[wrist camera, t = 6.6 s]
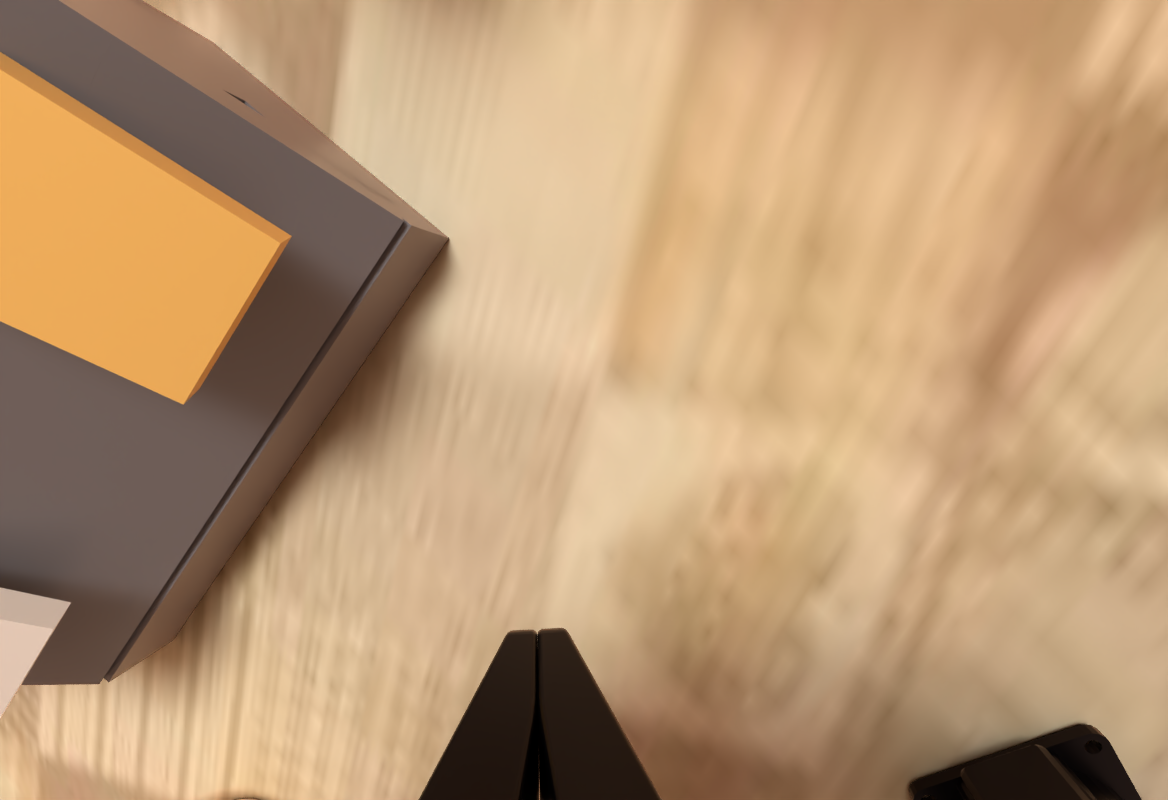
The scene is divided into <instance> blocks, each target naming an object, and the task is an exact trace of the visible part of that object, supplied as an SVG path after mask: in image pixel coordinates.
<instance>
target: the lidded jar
mask: <svg viewBox="0 0 1168 800" xmlns="http://www.w3.org/2000/svg"><path fill="white" fill-rule="evenodd" d="M236 800H259V799H254V798H242V799H236Z"/></svg>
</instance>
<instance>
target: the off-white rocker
mask: <svg viewBox="0 0 1168 800" xmlns="http://www.w3.org/2000/svg"><path fill="white" fill-rule="evenodd" d="M70 604H71V602H67V601H62V600H57V599H52V598H48V597H43V596H38V595H33V594H29V593H24V592H19V591H15V590H10V589H5V588H0V718H1V717H2V715H3V713H4V712H5V710H6V709H7V707H8V706H9V704H10V703H11V701H12V699H13V698H14V696H15V694H16V693H17V691H18V689H19V688H20V686H21V684H22V683H23V681H24V679H25V678H26V676H27V674H28V673H29V671H30V670H31V668H32V666H33V665H34V663H35V661H36V660H37V658H38V656H39V655H40V653H41V651H42V650H43V648H44V646H45V645H46V643H47V641H48V640H49V638H50V637H51V635H52V633H53V632H54V630H55V628H56V627H57V625H58V623H59V622H60V620H61V618H62V617H63V615H64V613H65V612H66V610H67V608H68V607H69V605H70Z"/></svg>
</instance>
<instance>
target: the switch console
mask: <svg viewBox="0 0 1168 800" xmlns="http://www.w3.org/2000/svg"><path fill="white" fill-rule="evenodd" d="M0 52H1V53H3V54H4V55H6V56H8V57H9V58H11V59H12V60H14V61H16V62H17V63H19V64H20V65H22V66H23V67H25V68H27V69H28V70H30V71H31V72H33V73H35V74H36V75H38V76H39V77H41V78H42V79H44V80H46V81H47V82H49V83H50V84H52V85H54V86H55V87H57V88H58V89H60V90H61V91H63V92H65V93H66V94H68V95H69V96H71V97H72V98H74V99H76V100H77V101H79V102H80V103H82V104H84V105H85V106H87V107H88V108H90V109H91V110H93V111H95V112H96V113H98V114H99V115H101V116H103V117H104V118H106V119H107V120H109V121H110V122H112V123H114V124H115V125H117V126H118V127H120V128H122V129H123V130H125V131H126V132H128V133H129V134H131V135H133V136H134V137H136V138H137V139H139V140H141V141H142V142H144V143H145V144H147V145H148V146H150V147H152V148H153V149H155V150H156V151H158V152H159V153H161V154H163V155H164V156H166V157H167V158H169V159H171V160H172V161H174V162H175V163H177V164H178V165H180V166H182V167H183V168H185V169H186V170H188V171H190V172H191V173H193V174H194V175H196V176H197V177H199V178H201V179H202V180H204V181H205V182H207V183H209V184H210V185H212V186H213V187H215V188H216V189H218V190H220V191H221V192H223V193H224V194H226V195H228V196H229V197H231V198H232V199H234V200H235V201H237V202H239V203H240V204H242V205H243V206H245V207H246V208H248V209H250V210H251V211H253V212H254V213H256V214H258V215H259V216H261V217H262V218H264V219H265V220H267V221H269V222H270V223H272V224H273V225H275V226H277V227H278V228H280V229H281V230H283V231H284V232H286V233H288V234H289V235H291V236H292V237H291V238H290V240H289V242H288V243H287V245H286V247H285V248H284V250H283V252H282V253H281V255H280V257H279V258H278V260H277V262H276V263H275V265H274V267H273V268H272V270H271V272H270V273H269V275H268V276H267V278H266V280H265V281H264V283H263V285H262V286H261V288H260V290H259V291H258V293H257V295H256V296H255V298H254V300H253V301H252V303H251V305H250V306H249V308H248V310H247V311H246V313H245V314H244V316H243V318H242V319H241V321H240V323H239V324H238V326H237V328H236V329H235V331H234V333H233V334H232V336H231V338H230V339H229V341H228V343H227V344H226V346H225V347H224V349H223V351H222V352H221V354H220V356H219V357H218V359H217V361H216V362H215V364H214V366H213V367H212V369H211V371H210V372H209V374H208V376H207V377H206V379H205V381H204V382H203V384H202V385H201V387H200V389H199V390H198V391H197V392H196V393H195V394H194V395H193V396H192V397H191V398H190V399H189V400H188V401H187V402H186V403H185V404H184V405H183V404H181V403H179V402H176V401H174V400H172V399H170V398H168V397H165V396H163V395H161V394H159V393H157V392H154V391H152V390H150V389H148V388H146V387H144V386H141V385H139V384H137V383H135V382H133V381H130V380H128V379H126V378H124V377H122V376H119V375H117V374H115V373H113V372H111V371H108V370H106V369H104V368H102V367H100V366H97V365H95V364H93V363H91V362H89V361H86V360H84V359H82V358H80V357H78V356H76V355H73V354H71V353H69V352H67V351H65V350H62V349H60V348H58V347H56V346H54V345H51V344H49V343H47V342H45V341H43V340H40V339H38V338H36V337H34V336H32V335H29V334H27V333H25V332H23V331H21V330H19V329H16V328H14V327H12V326H10V325H8V324H5V323H3V322H1V321H0V588H5V589H10V590H15V591H19V592H24V593H29V594H33V595H38V596H43V597H48V598H52V599H57V600H62V601H67V602H71V604H70V605H69V607H68V608H67V610H66V612H65V613H64V615H63V617H62V618H61V620H60V622H59V623H58V625H57V627H56V628H55V630H54V632H53V633H52V635H51V637H50V638H49V640H48V641H47V643H46V645H45V646H44V648H43V650H42V651H41V653H40V655H39V656H38V658H37V660H36V661H35V663H34V665H33V666H32V668H31V670H30V671H29V673H28V674H27V676H26V678H25V679H24V681H23V683H22V684H21V685H58V684H100V682H101V681H102V679H103V678H104V679H106V680H107V681H108V682H110V681H111V680H113V679H115V678H116V677H118V676H119V675H121V674H122V673H124V672H125V671H127V670H128V669H130V668H131V667H133V666H134V665H136V664H137V663H139V662H141V661H142V660H144V659H145V658H147V657H148V656H150V655H151V654H153V653H154V652H156V651H157V650H159V649H160V648H162V647H163V646H165V645H167V644H168V643H170V642H171V641H173V639H174V638H175V636H176V635H177V634H178V632H179V631H180V629H181V628H182V626H183V625H184V623H185V622H186V620H187V619H188V618H189V616H190V615H191V613H192V612H193V610H194V609H195V607H196V606H197V604H198V603H199V601H200V600H201V599H202V597H203V596H204V594H205V593H206V591H207V590H208V588H209V587H210V585H211V584H212V583H213V581H214V580H215V578H216V577H217V575H218V574H219V572H220V571H221V569H222V568H223V567H224V565H225V564H226V562H227V561H228V559H229V558H230V556H231V555H232V553H233V552H234V551H235V549H236V548H237V546H238V545H239V543H240V542H241V540H242V539H243V537H244V536H245V534H246V533H247V532H248V530H249V529H250V527H251V526H252V524H253V523H254V521H255V520H256V518H257V517H258V516H259V514H260V513H261V511H262V510H263V508H264V507H265V505H266V504H267V502H268V501H269V500H270V498H271V497H272V495H273V494H274V492H275V491H276V489H277V488H278V486H279V485H280V483H281V482H282V481H283V479H284V478H285V476H286V475H287V473H288V472H289V470H290V469H291V467H292V466H293V465H294V463H295V462H296V460H297V459H298V457H299V456H300V454H301V453H302V451H303V450H304V449H305V447H306V446H307V444H308V443H309V441H310V440H311V438H312V437H313V435H314V434H315V432H316V431H317V430H318V428H319V427H320V425H321V424H322V422H323V421H324V419H325V418H326V416H327V415H328V414H329V412H330V411H331V409H332V408H333V406H334V405H335V403H336V402H337V400H338V399H339V398H340V396H341V395H342V393H343V392H344V390H345V389H346V387H347V386H348V384H349V383H350V381H351V380H352V379H353V377H354V376H355V374H356V373H357V371H358V370H359V368H360V367H361V365H362V364H363V363H364V361H365V360H366V358H367V357H368V355H369V354H370V352H371V351H372V349H373V348H374V347H375V345H376V344H377V342H378V341H379V339H380V338H381V336H382V335H383V333H384V332H385V330H386V329H387V328H388V326H389V325H390V323H391V322H392V320H393V319H394V317H395V316H396V314H397V313H398V312H399V310H400V309H401V307H402V306H403V304H404V303H405V301H406V300H407V298H408V297H409V296H410V294H411V293H412V291H413V290H414V288H415V287H416V285H417V284H418V282H419V281H420V280H421V278H422V277H423V275H424V274H425V272H426V271H427V269H428V268H429V266H430V265H431V263H432V262H433V261H434V259H435V258H436V256H437V255H438V253H439V252H440V250H441V249H442V247H443V246H444V245H445V243H446V242H447V240H448V239H449V238H448V237H447V236H446V235H445V234H443V233H442V232H441V231H440V230H439V229H437V228H436V227H435V226H434V225H432V224H431V223H430V222H429V221H428V220H426V219H425V218H424V217H423V216H422V215H420V214H419V213H418V212H417V211H416V210H414V209H413V208H412V207H411V206H410V205H408V204H407V203H406V202H405V201H404V200H402V199H401V198H400V197H399V196H398V195H396V194H395V193H394V192H393V191H392V190H390V189H389V188H388V187H387V186H385V185H384V184H383V183H382V182H381V181H379V180H378V179H377V178H376V177H375V176H373V175H372V174H371V173H370V172H369V171H367V170H366V169H365V168H364V167H363V166H361V165H360V164H359V163H358V162H357V161H355V160H354V159H353V158H352V157H351V156H349V155H348V154H347V153H346V152H345V151H343V150H342V149H341V148H340V147H339V146H337V145H336V144H335V143H334V142H332V141H331V140H330V139H329V138H328V137H326V136H325V135H324V134H323V133H322V132H320V131H319V130H318V129H317V128H316V127H314V126H313V125H312V124H311V123H310V122H308V121H307V120H306V119H305V118H304V117H302V116H301V115H300V114H299V113H298V112H296V111H295V110H294V109H293V108H292V107H290V106H289V105H288V104H287V103H285V102H284V101H283V100H282V99H281V98H279V97H278V96H277V95H276V94H275V93H273V92H272V91H271V90H270V89H269V88H267V87H266V86H265V85H264V84H263V83H261V82H260V81H259V80H258V79H257V78H255V77H254V76H253V75H252V74H251V73H249V72H248V71H247V70H246V69H245V68H243V67H242V66H241V65H240V64H239V63H237V62H236V61H235V60H234V59H232V58H231V57H230V56H229V55H228V54H226V53H225V52H224V51H223V50H222V49H220V48H219V47H218V46H217V45H216V44H214V43H213V42H212V41H210V40H208V39H207V38H205V37H203V36H202V35H200V34H198V33H196V32H195V31H193V30H191V29H190V28H188V27H186V26H185V25H183V24H181V23H179V22H178V21H176V20H174V19H173V18H171V17H169V16H168V15H166V14H164V13H163V12H161V11H159V10H157V9H156V8H154V7H152V6H151V5H149V4H147V3H146V2H144V1H142V0H0Z"/></svg>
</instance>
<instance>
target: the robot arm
mask: <svg viewBox="0 0 1168 800" xmlns="http://www.w3.org/2000/svg"><path fill="white" fill-rule="evenodd" d="M1090 740H1092V742H1090V743H1089V744H1086V743H1087V742H1088V741H1090ZM539 780H540V800H662V799H661V798H660V796H659V794H658V792H657V790H656V789H655V787H654V785H653V783H652V781H651V780H650V778H649V776H648V774H647V772H646V771H645V769H644V767H643V765H642V764H641V762H640V760H639V758H638V756H637V755H636V753H635V751H634V749H633V747H632V746H631V744H630V742H629V740H628V738H627V737H626V735H625V733H624V731H623V730H622V728H621V726H620V724H619V722H618V721H617V719H616V717H615V715H614V713H613V712H612V710H611V708H610V706H609V704H608V703H607V701H606V699H605V697H604V696H603V694H602V692H601V690H600V688H599V687H598V685H597V683H596V681H595V679H594V678H593V676H592V674H591V672H590V670H589V669H588V667H587V665H586V663H585V661H584V660H583V658H582V656H581V654H580V653H579V651H578V649H577V647H576V645H575V644H574V642H573V640H572V638H571V636H570V635H569V633H568V632H567V630H566V629H564V628H552V629H541V630H539V632H538V635H537V633H536V631H534V630H514V631H510V632H508V634H507V635H506V636H505V638H504V640H503V642H502V644H501V646H500V647H499V649H498V651H497V653H496V655H495V657H494V659H493V661H492V663H491V664H490V666H489V668H488V670H487V672H486V674H485V676H484V678H483V679H482V681H481V683H480V685H479V687H478V689H477V691H476V693H475V695H474V696H473V698H472V700H471V702H470V704H469V706H468V708H467V710H466V711H465V713H464V715H463V717H462V719H461V721H460V723H459V725H458V727H457V728H456V730H455V732H454V734H453V736H452V738H451V740H450V742H449V744H448V745H447V747H446V749H445V751H444V753H443V755H442V757H441V759H440V760H439V762H438V764H437V766H436V768H435V770H434V772H433V774H432V776H431V777H430V779H429V781H428V783H427V785H426V787H425V789H424V791H423V792H422V794H421V796H420V798H419V800H539ZM909 794H910V796H911V799H912V800H1141V798H1140V796H1139V794H1138V792H1137V791H1136V789H1135V787H1134V785H1133V783H1132V782H1131V780H1130V778H1129V776H1128V774H1127V773H1126V771H1125V769H1124V767H1123V765H1122V764H1121V762H1120V760H1119V758H1118V756H1117V755H1116V753H1115V751H1114V749H1113V747H1112V746H1111V744H1110V742H1109V741H1108V740H1107V738H1106V737H1105V736H1104V735H1103V734H1102V733H1101V732H1100V731H1099V730H1098V729H1096V728H1095V727H1093V726H1091V725H1085V724H1083V725H1077V726H1074V727H1071V728H1068V729H1065V730H1062V731H1060V732H1057V733H1054V734H1051V735H1048V736H1045V737H1042V738H1039V739H1036V740H1033V741H1030V742H1027V743H1024V744H1021V745H1018V746H1015V747H1012V748H1009V749H1006V750H1003V751H1001V752H998V753H995V754H992V755H989V756H986V757H983V758H980V759H977V760H974V761H971V762H968V763H965V764H962V765H959V766H956V767H953V768H950V769H947V770H944V771H942V772H939V773H936V774H933V775H930V776H927V777H924V778H921V779H918V780H916V781H914V782H912V784H911V785H910V786H909ZM925 795H930V796H928V797H923V796H925Z"/></svg>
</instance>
